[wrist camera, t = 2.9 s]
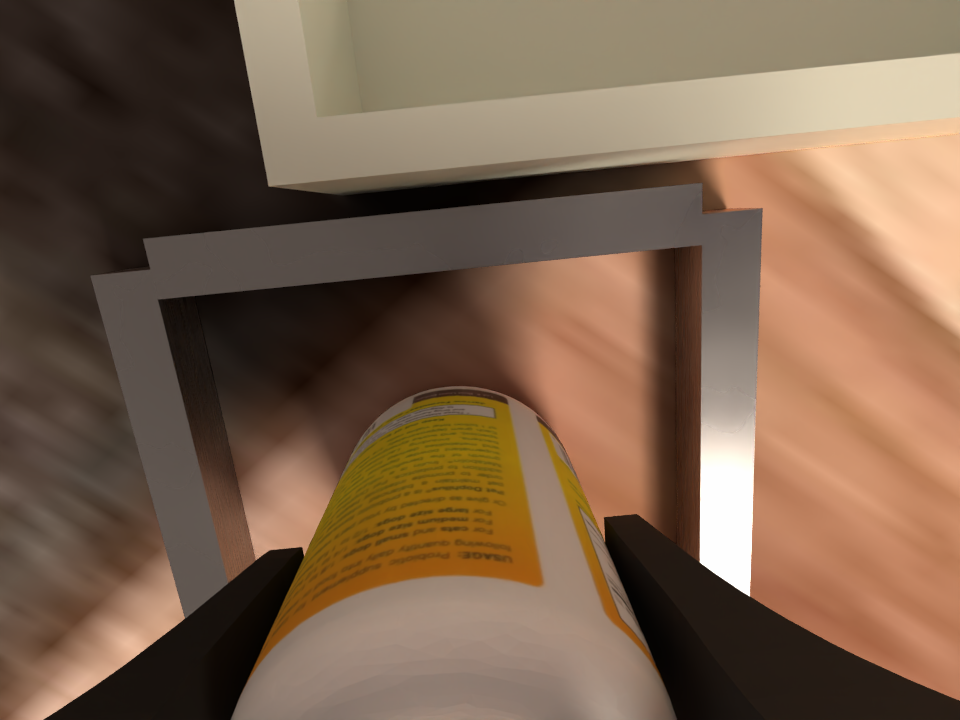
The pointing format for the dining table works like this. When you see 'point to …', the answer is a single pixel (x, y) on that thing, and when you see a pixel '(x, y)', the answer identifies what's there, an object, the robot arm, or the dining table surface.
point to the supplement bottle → (456, 583)
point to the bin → (583, 84)
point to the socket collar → (421, 249)
